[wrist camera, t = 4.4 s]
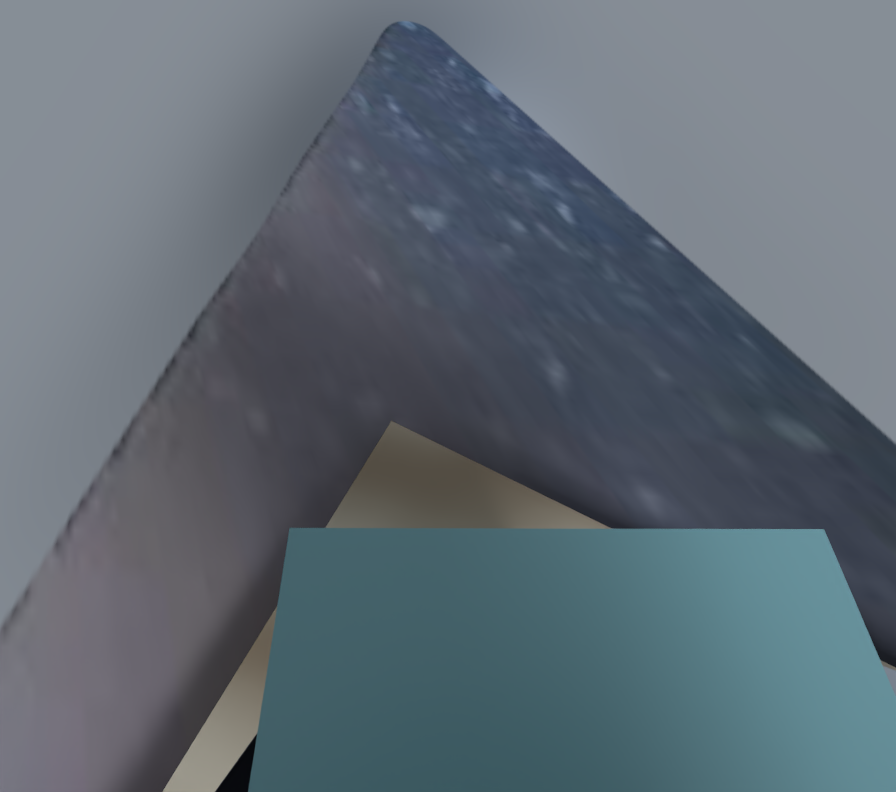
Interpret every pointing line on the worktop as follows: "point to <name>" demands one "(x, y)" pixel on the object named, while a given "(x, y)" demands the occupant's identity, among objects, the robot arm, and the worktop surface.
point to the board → (376, 506)
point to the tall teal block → (570, 664)
